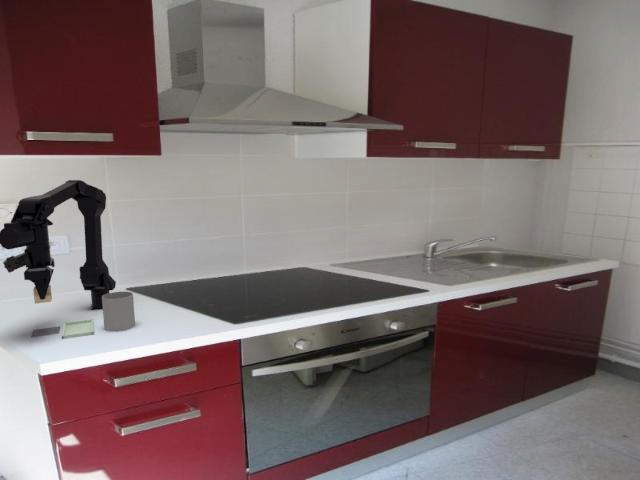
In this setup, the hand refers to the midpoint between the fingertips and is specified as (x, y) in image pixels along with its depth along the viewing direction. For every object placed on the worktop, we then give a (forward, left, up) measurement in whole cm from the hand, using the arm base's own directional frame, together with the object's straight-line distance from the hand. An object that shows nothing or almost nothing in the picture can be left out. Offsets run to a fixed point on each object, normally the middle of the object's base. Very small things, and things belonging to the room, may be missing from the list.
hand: (43, 297), depth 142 cm
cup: (+5, +19, -11) cm, 23 cm away
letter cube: (0, 0, -1) cm, 1 cm away
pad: (0, 0, -10) cm, 11 cm away
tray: (+3, +8, -10) cm, 14 cm away
